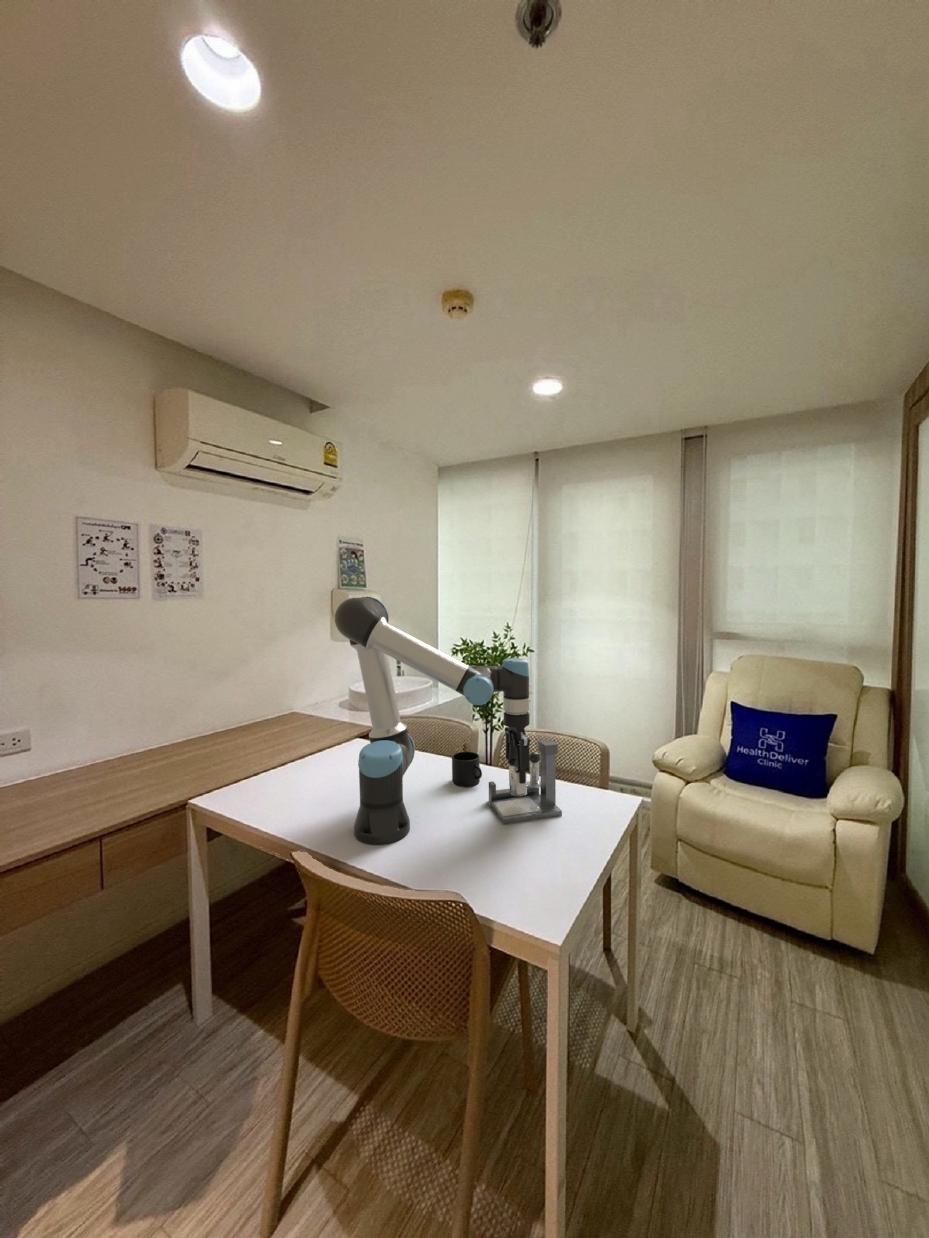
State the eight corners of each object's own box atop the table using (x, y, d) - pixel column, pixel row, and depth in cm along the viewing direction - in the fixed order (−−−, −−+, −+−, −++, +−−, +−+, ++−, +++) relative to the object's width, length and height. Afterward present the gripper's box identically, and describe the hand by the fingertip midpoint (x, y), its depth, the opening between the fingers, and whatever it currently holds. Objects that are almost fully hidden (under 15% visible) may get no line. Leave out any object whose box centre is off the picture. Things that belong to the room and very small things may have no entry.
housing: (513, 797, 139) (512, 765, 138) (507, 790, 144) (506, 759, 143) (529, 794, 140) (528, 762, 140) (522, 788, 145) (522, 757, 144)
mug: (472, 792, 157) (471, 765, 156) (446, 782, 165) (446, 756, 164) (491, 783, 163) (490, 757, 163) (465, 774, 172) (465, 749, 171)
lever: (531, 788, 151) (531, 754, 150) (526, 784, 154) (526, 750, 153) (542, 787, 152) (542, 753, 151) (538, 782, 155) (537, 749, 154)
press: (503, 824, 135) (503, 754, 133) (485, 801, 150) (485, 738, 149) (563, 815, 140) (563, 747, 139) (540, 793, 155) (539, 732, 154)
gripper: (541, 718, 133) (542, 800, 134) (516, 703, 150) (517, 776, 152) (516, 720, 131) (517, 803, 132) (493, 705, 148) (495, 779, 149)
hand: (517, 789), depth 142 cm, fingers closed on housing, 5 cm apart
